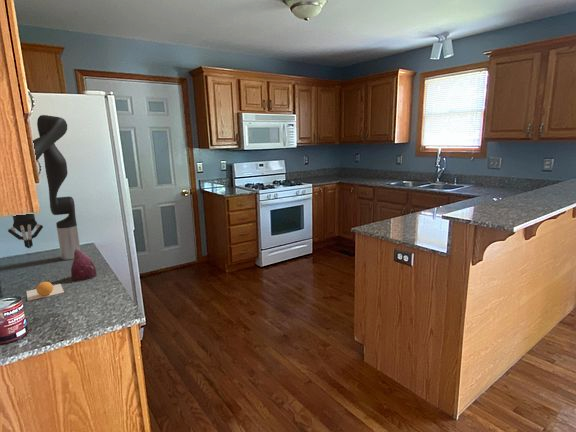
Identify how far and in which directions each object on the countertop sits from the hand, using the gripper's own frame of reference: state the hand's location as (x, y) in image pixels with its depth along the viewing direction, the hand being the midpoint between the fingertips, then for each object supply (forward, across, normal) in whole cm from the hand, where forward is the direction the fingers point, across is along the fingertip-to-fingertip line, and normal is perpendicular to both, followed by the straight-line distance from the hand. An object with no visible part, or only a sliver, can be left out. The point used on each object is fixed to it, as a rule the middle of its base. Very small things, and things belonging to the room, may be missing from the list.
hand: (29, 247), depth 154 cm
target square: (+15, -2, +21) cm, 26 cm away
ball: (+12, -2, +25) cm, 28 cm away
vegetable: (+15, -18, +11) cm, 26 cm away
